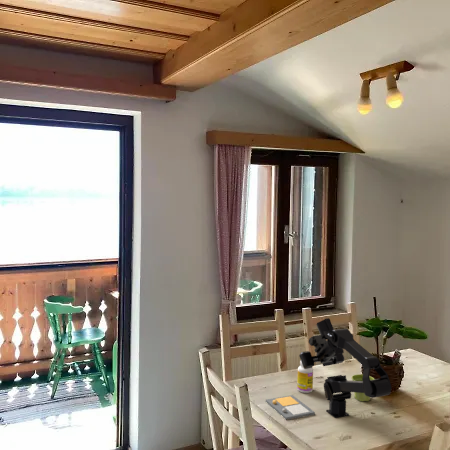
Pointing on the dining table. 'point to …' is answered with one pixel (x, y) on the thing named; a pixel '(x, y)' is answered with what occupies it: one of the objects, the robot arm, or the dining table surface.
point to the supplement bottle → (305, 379)
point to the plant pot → (360, 395)
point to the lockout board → (290, 407)
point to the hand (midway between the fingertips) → (313, 366)
